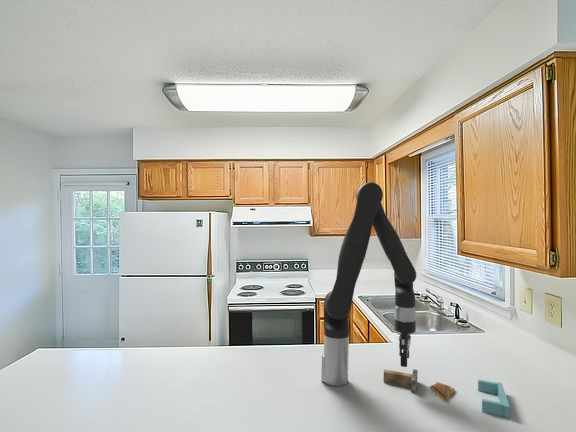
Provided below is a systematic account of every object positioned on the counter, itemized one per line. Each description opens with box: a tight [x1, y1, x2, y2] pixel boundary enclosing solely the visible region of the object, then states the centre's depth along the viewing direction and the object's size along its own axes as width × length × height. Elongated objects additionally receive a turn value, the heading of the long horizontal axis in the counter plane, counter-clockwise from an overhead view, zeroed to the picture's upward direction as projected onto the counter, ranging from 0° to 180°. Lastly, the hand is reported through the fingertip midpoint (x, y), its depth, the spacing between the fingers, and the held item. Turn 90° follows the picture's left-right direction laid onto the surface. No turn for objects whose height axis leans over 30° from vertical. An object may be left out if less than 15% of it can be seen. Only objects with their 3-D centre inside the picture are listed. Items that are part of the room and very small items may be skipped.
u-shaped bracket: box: [477, 379, 511, 419], centre depth 123 cm, size 8×18×4 cm, turn 157°
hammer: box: [383, 368, 419, 394], centre depth 135 cm, size 12×10×4 cm
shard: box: [429, 381, 456, 402], centre depth 129 cm, size 11×8×2 cm
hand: (405, 361), depth 135 cm, fingers open, 8 cm apart
